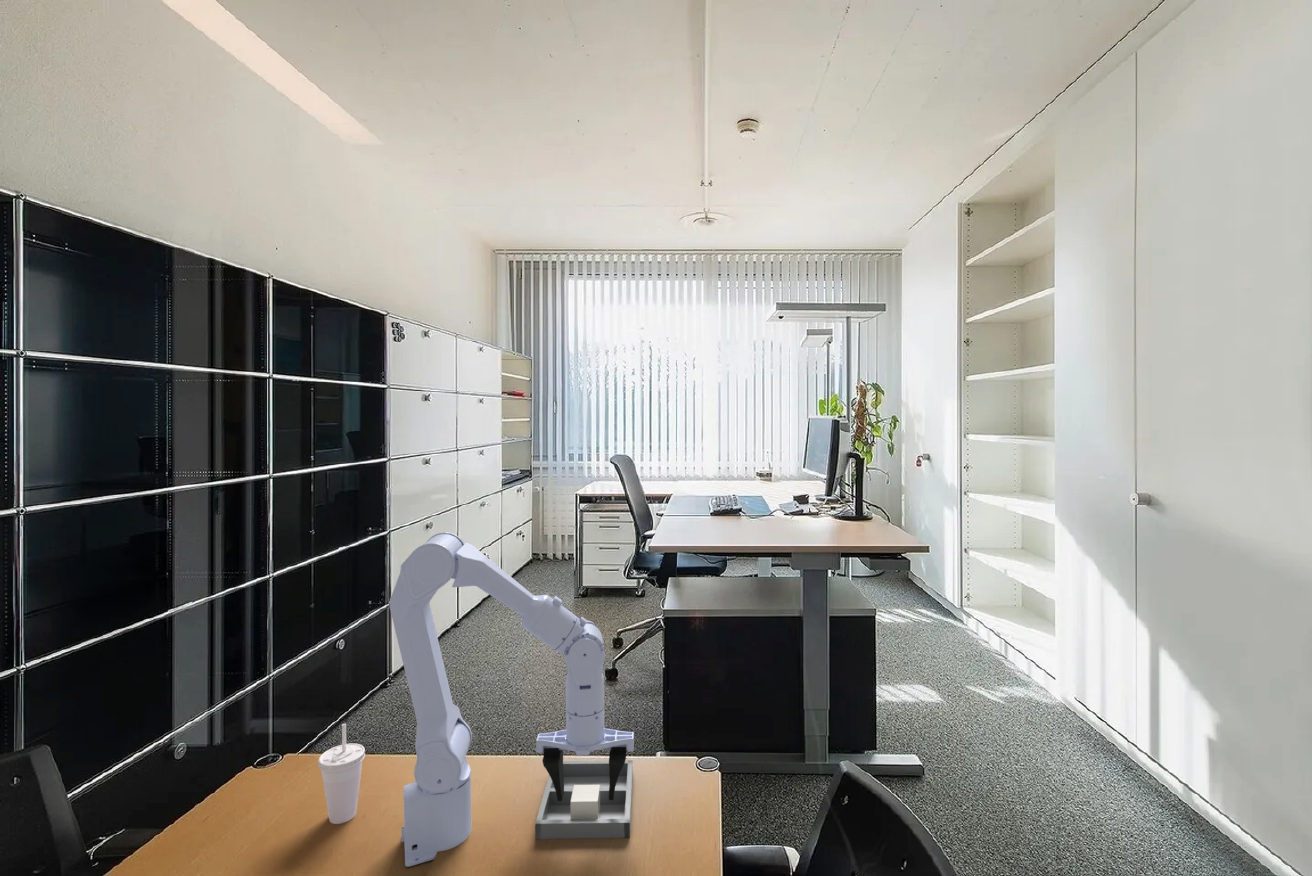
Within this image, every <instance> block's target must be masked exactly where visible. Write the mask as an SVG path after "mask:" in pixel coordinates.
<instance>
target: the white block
mask: <svg viewBox="0 0 1312 876" xmlns="http://www.w3.org/2000/svg"><path fill="white" fill-rule="evenodd" d="M599 815H600V785H574V788H573V792H572V797H571V820H577V819H599Z"/></svg>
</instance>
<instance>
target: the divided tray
mask: <svg viewBox="0 0 1312 876" xmlns="http://www.w3.org/2000/svg"><path fill="white" fill-rule="evenodd" d="M633 764H634V762H633V760H625V763H624V766H623V768H622V770H621V772H620V774H619V777H618V780H617V783H616V786H615V791H614V800H609V785H610V773H609V760H572V761H571V760H566V761H565V760H563V776H564V795H563V799H562V801H557V795H556V791H555V788H554V784H553V782H552V779H551V777H550V775H549V774H548V778H547V782H546V785H545V789H544V792H543V796H542V799H541V803H540V806H539V809H538V812H537V815H536V820H535V822H534V827H535V828H534V830H535V831H534V832H535V833H534V834H535V835H534V837H535V838H534V839H535V840H567V839H568V840H569V839H570V840H571V839H572V840H579V839H580V840H581V839H586V840H587V839H588V840H589V839H630V838H631V821H632V801H633V800H632V799H633V778H634V777H633V776H634V765H633ZM574 785H600V815H599V819H577V820H571V797H572V792H573V788H574Z"/></svg>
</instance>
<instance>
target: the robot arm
mask: <svg viewBox="0 0 1312 876" xmlns="http://www.w3.org/2000/svg"><path fill="white" fill-rule="evenodd" d="M399 571H400V572H399V575H398V578H397V580H396V582H395V585H394V588H393V591H392V593H391V596H390V598H389V601H388V604H389V610H390V615H391V620H392V622H393V628H394V630H395V631H394V632H395V635H396V640H397V643H398V648H399V650H400V656H401V660H402V664H403V668H404V673H405V677H406V680H407V684H408V689H409V690H408V691H409V693H410V694H409V695H410V697H411V702H412V707H413V710H414V714H415V719H416V723H417V725H416V732H415V733H416V734H415V735H416V736H415V743H414V744H415V745H414V747H415V753H416V763H415V765H414V770H413V773H414V774H413V776H414V779H415V781H413V782H411V783H408V784H406V785H403V826H402V827H401V843H404V865H405V867H406V868H409V867H413V866H417V865H420V864H423V863H427V862H430V861H433V860H435V857H436V856H437V854H438V852H443V851H449V850H450V849H453V848H455V847H457V846H459V845H461V844H462V843H464V842H465V840H467V838H469V836H470V834H471V833H472V777H471V776H472V772H471V771H472V769H471V765H470V764H469V762H468V760H467V758H466V756H467V753H468V751H469V749H470V747H471V745H472V740H473V732H472V729H471V727H470V726H469V724H468V723H467V722H466V720H464V719H463V717H462V714H461V710H460V707H458V705H456V704H455V703H454V702H453V698H452V693H451V689H450V685H449V681H448V676H447V671H446V668H445V667H446V666H445V664H444V663H445V662H444V659H443V655H442V650H441V647H440V643H439V638H438V635H437V634H438V633H437V631H436V627H435V620H434V617H433V613H432V609H431V604H430V603H431V601H432V599H433V598H434V596H435V595H436V594H437V592H438V591H439V589H441V588H442V587H444V586H445V585H446V584H447V583H448V582H450V580H451V579H453V583H452V588H465V587H477V588H479V589H480V590H482V591H483V592H485V593H486V594H488V595H490V596H491V597H492V598H494V599H495V600H497V601H498V602H500V603H501V604H503V605H505V606H507V607H508V608H509V609H511V610H512V611H514V612H515V613H517V614H518V615H520V617H521V624H522V625H521V626H522V628H523V629H524V630H526V631H527V632H528V633H529V634H531V635H532V636H534V637H535V638H536V639H537V640H539V641H540V642H542V643H543V644H545V646H547V647H549V648H551V650H553V651H554V652H556V653H558V654H561V655H563V659H564V663H565V665H566V666H567V668H566V669H567V674H566V677H565V729H562V730H557V731H552V732H551V731H550V732H543V733H538V734H537V737H536V739H535V748H536V749H535V750H536V751H535V753H536V754H542V753H543V757H542V765H543V767H544V769H545V770H546V771H547V773H548V776H549V775H550V777H551V779H552V782H553V784H554V788H555V791H556V795H557V801H562V799H563V795H564V776H563V761H564V751H571V752H575V755H576V756H588V755H590V754H591V752H594V751H600V750H609V756H608V757H609V758H608V761H609V773H610V785H609V800H614V791H615V786H616V783H617V780H618V777H619V774H620V772H621V770H622V768H623V766H624V763H625V761H627V760H626V759H627V752H634V751H635V732H634V731H624V730H617V729H611V728H605V678H604V662H605V660H606V659H605V658H606V652H605V647H604V639H603V635H602V633H601V631H600V630H601V629H599V628H598V626H596V625H595V623H594V622H593V621H590V620H587V619H586V618H585V617H583V616H581V617H580V618H579V617H578V616H577V615H575V614H574V613H572V612H571V611H570V610H569V609H567V608H566V607H565V606H564V605H562V602H563V600H562V599H561V598H559V597H558V596H557V595H554V596H553V597H551V596H549V595H548V594H542V595H541V594H540V595H534V594H533V593H531V592H530V591H529V590H528V589H527V588H525V587H524V586H523V585H522V584H520V582H518V581H517V580H515V579H514V578H513V577H512V576H511V575H509V574H508V573H507V572H506V571H504V569H502V568H501V567H499V566H498V564H495V563H494V562H493V561H492V560H491V559H489V558H488V557H487V555H485V554H484V553H482V552H481V550H479V549H478V548H477V547H475V546H474V545H473V544H471V543H469V542H464V541H463V539H462V538H461V537H460V536H458V535H457V534H455V533H452V532H449V531H446V532H445V531H442V532H439V533H435V534H434V535H432V536H430V537H429V539H427V541H426V542H425V543H423V544H421V545H419V546H418V547H416V548H415V549H414V550H413V551H412V552H411V553H410V554H409V556H408V557H406V559H405V560H404V561H403V562H402V563H401V565H400V570H399Z"/></svg>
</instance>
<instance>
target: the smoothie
mask: <svg viewBox="0 0 1312 876" xmlns="http://www.w3.org/2000/svg"><path fill="white" fill-rule="evenodd" d="M365 752H366V749H365V747H364V746H363V744H359V743H350V742H349V743H347V723H342V724H341V744H339V745H337V746H333V747H331V748H329V749H327V750H326V751H324V752H322V754H321V755H320V756H319V757H318V765H317V768H318V769H319V770H320V771H321V778H322V783H323V789H324V796H325V800H326V801H325V802H326V808H327V815H328V819H329V820H328V821H329V823H331V824H334V825H340V824H345V823H347V822H348V821H350V820H352V819H353V818H355V816H356V815H357V810H358V802H359V795H360V794H359V793H360V785H361V777H362V768H363V760H365V757H366V753H365Z"/></svg>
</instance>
